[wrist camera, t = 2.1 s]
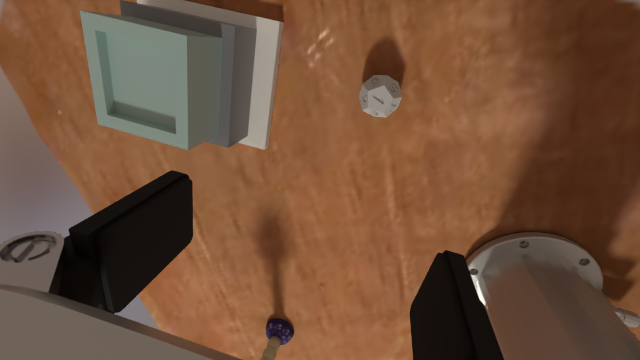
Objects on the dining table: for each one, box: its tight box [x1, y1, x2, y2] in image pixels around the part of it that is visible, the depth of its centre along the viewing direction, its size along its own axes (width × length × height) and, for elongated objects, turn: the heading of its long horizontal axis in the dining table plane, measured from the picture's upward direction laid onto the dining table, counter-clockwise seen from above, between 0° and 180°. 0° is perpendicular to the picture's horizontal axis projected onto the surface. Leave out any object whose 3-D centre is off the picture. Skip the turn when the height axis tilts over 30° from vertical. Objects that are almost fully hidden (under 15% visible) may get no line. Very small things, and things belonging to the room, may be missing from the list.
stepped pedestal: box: [80, 0, 284, 150], centre depth 25 cm, size 14×12×9 cm
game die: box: [359, 75, 402, 118], centre depth 25 cm, size 4×4×3 cm
